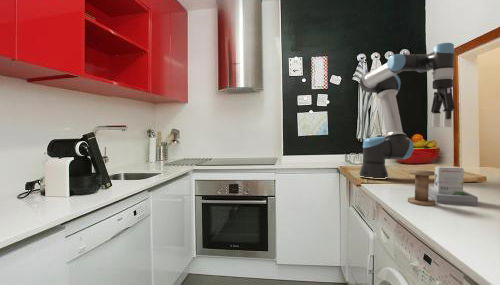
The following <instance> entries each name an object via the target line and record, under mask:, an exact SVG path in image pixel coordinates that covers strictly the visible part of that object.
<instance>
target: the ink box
mask: <svg viewBox="0 0 500 285" xmlns="http://www.w3.org/2000/svg"><path fill="white" fill-rule="evenodd" d="M464 170H465V169H464V168H463V167H456V166H435V167H434V172H435V175H434V187H433V188H434V189H433V190H434V191H435V192H437V193H439V194H443V195H461V196H463V190H464V174H465V173H464Z"/></svg>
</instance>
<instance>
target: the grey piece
mask: <svg viewBox="0 0 500 285" xmlns="http://www.w3.org/2000/svg"><path fill="white" fill-rule="evenodd" d="M428 199H432V200H434V201H436V203H435V204H444V205H445V204H448V205H465V206H478V204H479V201H478V199H479V197H478V196H476V195H475V194H471V193H469V192H468V191H465V189H463V196H461V195H443V194H439V193H437V192H435V191H434V189H432V188H430V187H429V191H428Z"/></svg>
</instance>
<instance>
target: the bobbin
mask: <svg viewBox="0 0 500 285" xmlns="http://www.w3.org/2000/svg"><path fill="white" fill-rule="evenodd" d="M409 174H410V175H413V176H415V177H414V181H415V182H414V196H412V197H411V196H410V197H408V198H407V203H409V204H412V205H416V206H417V205H418V206H424V207H432V206H433V207H434V206H436V204H437V203H436V201H434V200H432V199H431V198H429V197H428V191H429V188H430V186H429V183H430V177H431V176H432V177H433V176H435V171H432V170H427V169H410V170H409Z"/></svg>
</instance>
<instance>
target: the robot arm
mask: <svg viewBox="0 0 500 285" xmlns="http://www.w3.org/2000/svg"><path fill="white" fill-rule="evenodd" d="M454 62H455V44H454V43H452V42H443V43H442V42H441V43H438V44H436V45H434V47H433V50H432V52H431V53H427V54H423V53H422V54H421V53H420V54H417V53H416V54H415V53H413V54H412V53H411V54H407V53H396V54H391V55H390V56H389V58H388V59H387V62H386V63H384V64H382V65H381V66H379V67H377V68H375V69H373V70H372V71H368V72H366V73H364V74H362V75H361V77H360V78H359V87H360V88H361V90H362V91H364V92H366V93H370V94H374V93H376V98H378V99H379V100H380V105H381V106H380V107H381V111H382V116H383V122H384V129H385V134H386V135H385V136H374V137H373V136H372V137H367V138H364V139H363V142H362V165H361V167H360V171H359V175H360V176H364V177H373V178H385V177H388V178H389V173H388V170H387V167H386V160H407V159H409V158H410V157H411V156H412V154H413V152H414V146H415V145H414V142H413V141H412V139H410V138H407V137H408V135H407V134H406V133H405V132H404V131H403V127H402V122H401V116H400V110H399V106H398V101H397V97H396V96H397V95H398V93H399V92H400V89H401V84H402V83H401V79H400V77H399V76H398V74H400V73H401V72H406V71H407V72H413V71H415V72H418V73H427V72H429V71H432V72H431V75H432V79H433V80H432V89H433V90H436V91H434V93H433V98H432V105H431V110H430V112H431V113H432V128H440V127H441V126H440V125H441V114H442V113H441V111H440V110H441V108H442V105H443V108H444V109H443V110H442V112H443V125H442V126H443V128H452V127H453V126H452V122H453V121H452V120H453V111H454V110H456V109H455V108H456V106H455V103H454V96H453V89H452V88H453V87H454V79H453V78H454V70H455V68H454V67H455V66H454V64H455V63H454Z"/></svg>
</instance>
